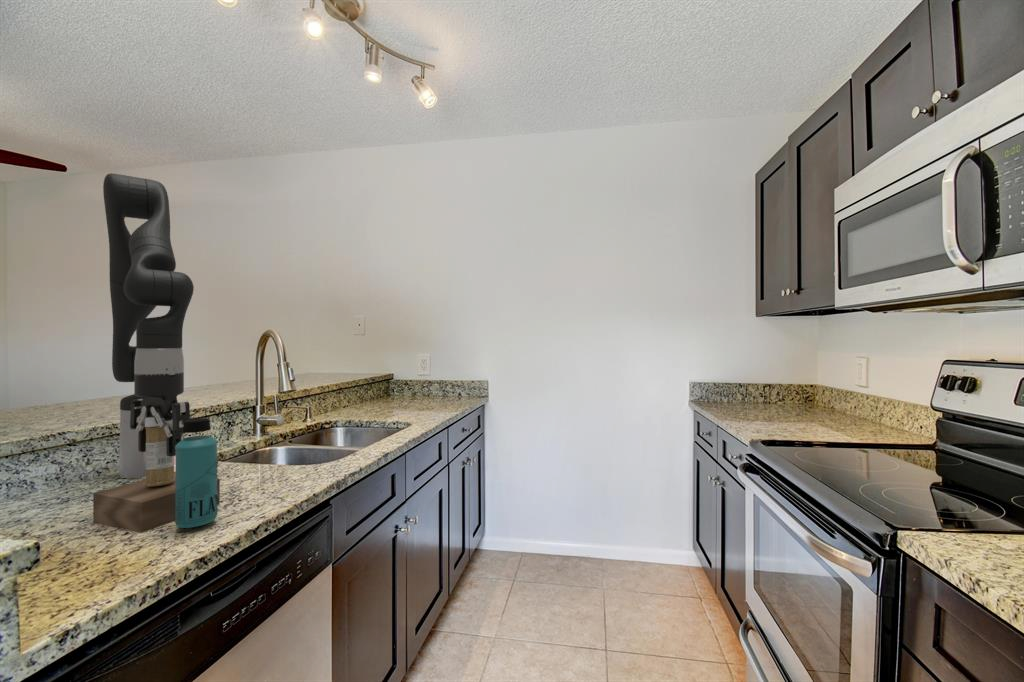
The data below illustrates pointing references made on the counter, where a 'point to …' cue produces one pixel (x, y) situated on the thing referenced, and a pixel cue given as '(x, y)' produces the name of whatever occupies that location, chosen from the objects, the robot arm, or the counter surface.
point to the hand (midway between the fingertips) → (159, 453)
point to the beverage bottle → (196, 476)
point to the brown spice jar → (157, 456)
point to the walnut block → (137, 506)
